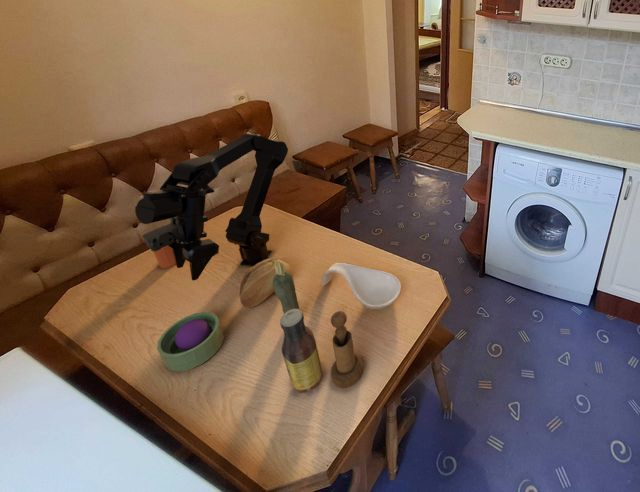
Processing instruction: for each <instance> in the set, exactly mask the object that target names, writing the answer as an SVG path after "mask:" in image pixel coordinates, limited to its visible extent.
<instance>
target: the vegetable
mask: <svg viewBox="0 0 640 492" xmlns="http://www.w3.org/2000/svg"><path fill="white" fill-rule="evenodd" d="M274 264H275V271H276V275H275V276H274V278H273V288H274V293H275V295H276V297H277V299H278V300H279V301H280V304H281V308H282V313H283V315H284V314H285V313H286V312H287V311H289V310H291V309H299V310H300V305H299V301H298V295H297V292H296V287H295V281H294V279H293V275H292V273H291V274H290V273H289V272H287V271H285V269H284V265H283V264H282V263H281V262H278V261H277V260H274V261H272V262H271V265H272V266H273V265H274Z"/></svg>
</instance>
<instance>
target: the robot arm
mask: <svg viewBox="0 0 640 492" xmlns="http://www.w3.org/2000/svg"><path fill="white" fill-rule="evenodd" d="M252 151H253V152H255V153H254V159H255V163H256V167H255V171H254V174H253V177H252V180H251V182H250V185H249V188H248V191H247V193H246V197H245V199H244V203H243V206H242V208H241V211H240V213H238V215H237V216H235V217H230V219H229V220H228V224H227V228H226V229H225V231H224V232H225V239H226V240H227V242H228V243H229V244H234V245H237V246H238V247H239V248H238V252H239V254H240V259H241V262H240V263H239V264H240V266H249V267H253V266H254V265H256V264H257V263H259V262H261V261H263V260H266V259H269V256H270V255H271V254H272V250H270V249H268V246H267V243H268V242H269V241H270V233H267V232H262V230H263V229H262V228H263V224H262V220H261V213H262V210H263V208H264V204H265V202H266V199H267V195H268V192H269V189H270V186H271V184H272V180H273V177H274V174H275V172H276V169H278V168H279V167H280V166H281V165H282V164H284V161H285V159H286V157H287V155H288V152H289V147H288V146H287V143H286V142H284V141H282V140H276V139H275V140H274V139H269V138H268V137H267V138H266V137H264V136H262V135H260V134H255V133H249V132H246V133H243V134H242V135H241V136H240V137H239V138H236V139H235V140H232V141H230V142H229V143H227V144H225V145H224V146H222V147H220V148H218V149H216V150H214V151H212V152H210V153H208V154H206V155H203V156H197V157H193V158H189V159H186V160H183V161H179V162H178V163H177V164H176V165H175V166H174V167H173V170H172V172H171V173H170V175H168V177H167V178H166V180H165V181H164V182H163V183H162V185H161V186H160V187H159V191H147V192H144V193H143V195H142V198H140V200H138V202H137V203H136V205H135V206H134V213H135V216H136V218H137V220H138V221H139V222H140V223H141V224H143V225H149V224H153V223H157V222H162V221H165V220H170V223H168V224H166V225H162V226H159V227H157V228H154V229H152V230H150V231H148V232H146V233H144V234H142V239H143V241H144V243H145V244H146V245H145V246H146V247H147V248H148V249H150V251H152V252H153V251H158V250H160V249H161V248H164V247H166V246H169V247H171V249H172V252H173V255H174V259H175V262H176V264H175V266H176V268H178V269H181V268H183V267H184V265H185V263H186V262H188V263H189V268H190V269H189V270H190V277H191V281H197V280H199V278H200V277H201V275H202V273H203V271H204V270H205V268H206V267H207V265H208V264H209V263H210V261H211V259H213V257H215V256H216V255H218V254H219V253H220V245H219V244H218V243H216V242H215V241H213V240H212V239H210V238H207V237H208V232H206V231H204V230H205V223H206V222H208V221H209V218H208V216H206V198H207V197H206V195H208V194H213V193H215V189H214V188H212V187H210V186H209V184H210V183H212V182H213V181H214V180H215V179H217V177H218V176H219V174H220V172H221V170H223V169H224V168H226V167H228V166H229V165H231V164H232V163H234V162H236V161H237V160H239V159H240V158H242V157H244V156H246V155H247V154H249V153H251V152H252ZM204 238H207V239H204ZM201 239H202V240H201Z"/></svg>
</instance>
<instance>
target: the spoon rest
mask: <svg viewBox="0 0 640 492" xmlns="http://www.w3.org/2000/svg"><path fill="white" fill-rule="evenodd" d="M335 273H337V274H339V275H341V276H342V277H343V278H344V279H345V281H346V282H347V284H348V286H349V288H350V290H351V292H352V293H353V295H354V297H355V299H356V300H357V301H358V302H359V303H360V304H361V305H362V306H363V307H365V308H367V309H370V310H382V309H385V308H387V307H389V306H391V305H392V304H394V303H395V301H396V300H398V298H399V296H400V295H401V292H402V283H401V281H400V279H399V278H397V277H396V275H394V274H392V273H390V272H387V271H383V270H378V269H375V268H374V269H373V268H368V267H363V266H359V265H354V264H350V263H344V262H336V263H333V264H332V265H331V266H330V268H329V269H327V270H325V272H324V273H323V274H322V277H321V282H320V284H321V287H322V286H327V284H329V282H330V281H331V280H333V278H334V277H335Z"/></svg>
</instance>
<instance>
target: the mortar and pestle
mask: <svg viewBox="0 0 640 492" xmlns="http://www.w3.org/2000/svg"><path fill="white" fill-rule="evenodd" d="M347 317H348V316H347V313H345V311H343V310H338V311H335V312H333V314H332V315H331V317H330V324H331V326H332V327H333V328H335V329H334V335H333V336H332V346H333V347H332V348H333V353H334V358H335V359H334V362H333V363H332V366H331V369H330V374H331V380H332V383H333V385H334V386H335V387H336V388H340V389H348V388H350V387H352V386H354V385H355V384H357V383H358V382H359V380H360V379H361V378H362V375H363V373H364V364H363V359H362V357H361V355H360V354H358V353H356V352H355V347H354V339H353V335H352V333H351V331H350V330H347V329H348V328H347V326H346V323H347V319H348V318H347Z"/></svg>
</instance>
